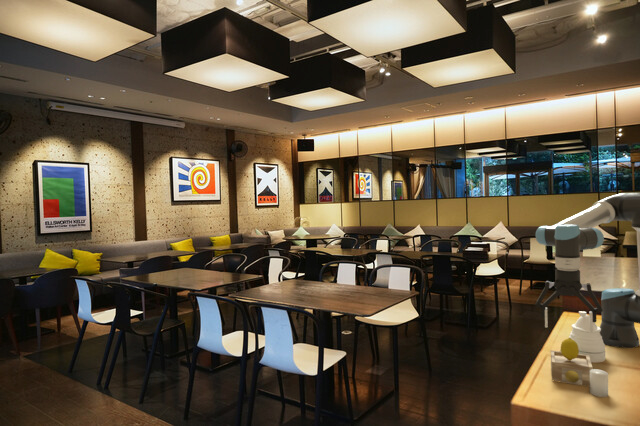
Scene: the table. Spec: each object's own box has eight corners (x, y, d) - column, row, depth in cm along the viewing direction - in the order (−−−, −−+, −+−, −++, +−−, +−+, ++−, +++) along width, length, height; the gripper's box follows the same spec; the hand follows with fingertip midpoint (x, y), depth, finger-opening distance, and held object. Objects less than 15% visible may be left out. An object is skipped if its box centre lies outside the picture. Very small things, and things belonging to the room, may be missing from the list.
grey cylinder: (601, 389, 141) (601, 368, 140) (611, 396, 136) (611, 375, 135) (586, 390, 140) (586, 369, 140) (596, 397, 135) (596, 375, 135)
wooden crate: (550, 368, 159) (550, 350, 158) (588, 374, 153) (588, 355, 153) (551, 382, 148) (551, 362, 147) (592, 388, 142) (592, 367, 142)
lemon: (570, 363, 147) (571, 340, 147) (556, 358, 152) (557, 336, 152) (582, 362, 149) (582, 339, 149) (567, 358, 154) (568, 335, 154)
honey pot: (591, 364, 161) (591, 317, 160) (559, 353, 173) (559, 309, 172) (612, 358, 166) (613, 313, 165) (581, 348, 178) (581, 305, 177)
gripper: (527, 268, 151) (528, 327, 152) (611, 272, 139) (612, 336, 140) (528, 265, 158) (529, 321, 159) (609, 268, 146) (609, 329, 147)
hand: (568, 328), depth 149 cm, fingers open, 13 cm apart
